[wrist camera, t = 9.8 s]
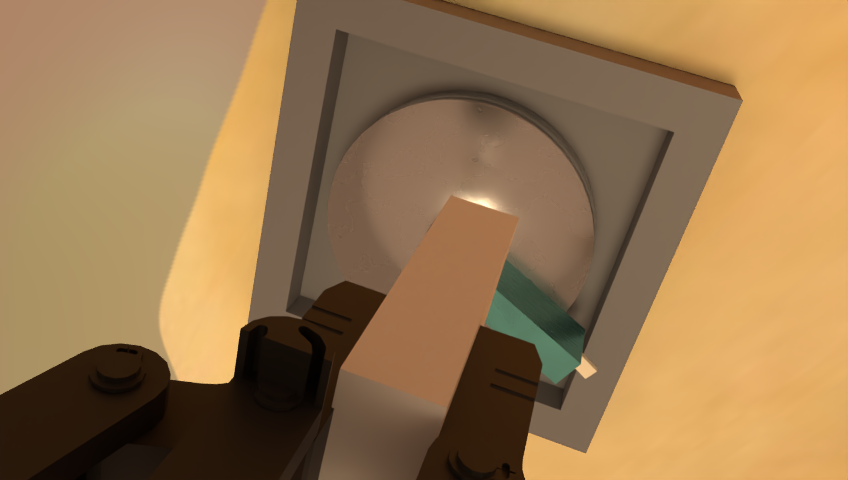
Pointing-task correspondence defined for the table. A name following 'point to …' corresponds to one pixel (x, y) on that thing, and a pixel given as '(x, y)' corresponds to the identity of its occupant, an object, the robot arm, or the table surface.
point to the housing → (538, 92)
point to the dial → (479, 183)
